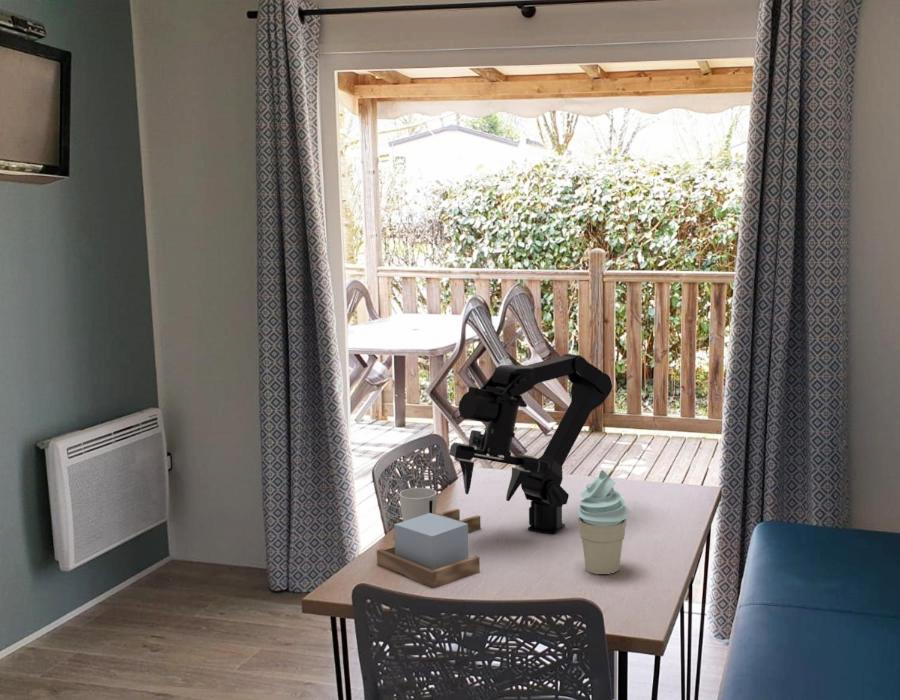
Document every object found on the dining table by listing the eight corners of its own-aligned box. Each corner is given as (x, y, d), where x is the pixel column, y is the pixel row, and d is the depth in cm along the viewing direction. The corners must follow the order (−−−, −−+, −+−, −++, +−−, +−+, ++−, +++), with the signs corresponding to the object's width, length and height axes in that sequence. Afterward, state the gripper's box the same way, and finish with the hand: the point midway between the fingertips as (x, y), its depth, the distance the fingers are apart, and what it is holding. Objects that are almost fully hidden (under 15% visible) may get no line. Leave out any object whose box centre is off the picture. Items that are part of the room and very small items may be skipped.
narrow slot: (456, 521, 230) (456, 508, 229) (480, 529, 224) (480, 516, 223) (435, 527, 225) (435, 514, 225) (458, 535, 219) (458, 522, 219)
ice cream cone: (581, 580, 192) (581, 479, 189) (574, 559, 203) (574, 464, 200) (634, 579, 192) (634, 478, 189) (623, 558, 203) (624, 463, 200)
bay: (423, 549, 211) (423, 536, 211) (479, 571, 198) (479, 557, 198) (377, 564, 203) (376, 550, 203) (432, 588, 190) (432, 573, 190)
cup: (433, 544, 215) (432, 499, 213) (396, 542, 216) (395, 497, 215) (441, 531, 222) (440, 488, 221) (405, 530, 224) (404, 487, 223)
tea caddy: (431, 552, 210) (430, 510, 209) (474, 566, 202) (474, 523, 200) (389, 567, 202) (387, 524, 201) (432, 583, 193) (431, 538, 192)
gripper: (530, 428, 222) (516, 497, 221) (450, 413, 217) (436, 484, 217) (547, 434, 211) (532, 506, 211) (463, 418, 206) (448, 492, 206)
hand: (487, 497), depth 211 cm, fingers open, 9 cm apart
